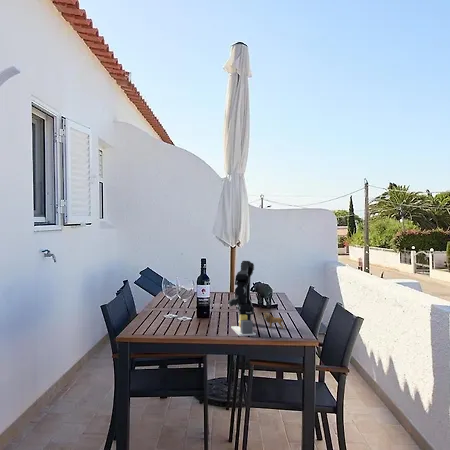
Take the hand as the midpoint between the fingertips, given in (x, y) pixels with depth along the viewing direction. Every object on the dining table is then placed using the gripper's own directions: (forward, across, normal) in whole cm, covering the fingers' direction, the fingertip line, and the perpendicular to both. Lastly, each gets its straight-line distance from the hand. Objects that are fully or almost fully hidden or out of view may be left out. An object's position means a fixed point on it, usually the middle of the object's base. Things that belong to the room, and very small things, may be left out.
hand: (241, 319), depth 290 cm
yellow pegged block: (+4, +4, 0) cm, 6 cm away
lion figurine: (+7, -4, +22) cm, 23 cm away
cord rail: (+7, +4, 0) cm, 8 cm away
